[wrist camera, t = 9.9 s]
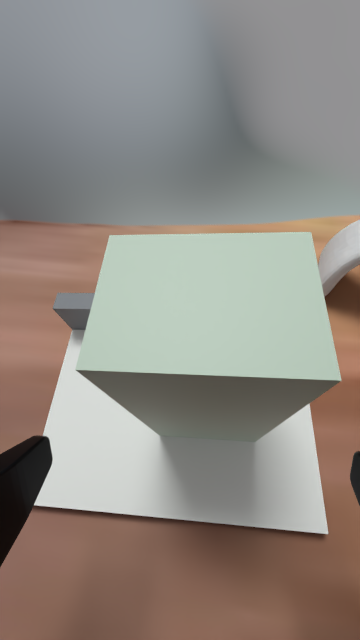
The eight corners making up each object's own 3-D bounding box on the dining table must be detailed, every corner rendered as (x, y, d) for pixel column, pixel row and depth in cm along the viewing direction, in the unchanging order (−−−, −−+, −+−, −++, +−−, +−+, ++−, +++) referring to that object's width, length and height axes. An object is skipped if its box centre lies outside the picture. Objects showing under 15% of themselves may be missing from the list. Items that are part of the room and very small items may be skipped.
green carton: (251, 370, 18) (309, 226, 8) (254, 442, 16) (341, 380, 6) (166, 367, 19) (111, 230, 8) (159, 435, 17) (75, 369, 6)
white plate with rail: (293, 320, 20) (309, 290, 17) (322, 531, 14) (356, 548, 11) (81, 317, 22) (58, 289, 19) (31, 502, 16) (-15, 510, 13)
